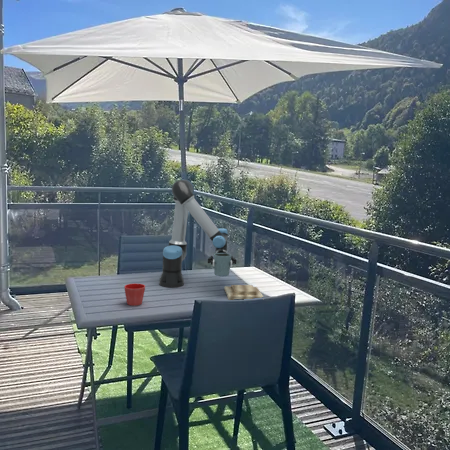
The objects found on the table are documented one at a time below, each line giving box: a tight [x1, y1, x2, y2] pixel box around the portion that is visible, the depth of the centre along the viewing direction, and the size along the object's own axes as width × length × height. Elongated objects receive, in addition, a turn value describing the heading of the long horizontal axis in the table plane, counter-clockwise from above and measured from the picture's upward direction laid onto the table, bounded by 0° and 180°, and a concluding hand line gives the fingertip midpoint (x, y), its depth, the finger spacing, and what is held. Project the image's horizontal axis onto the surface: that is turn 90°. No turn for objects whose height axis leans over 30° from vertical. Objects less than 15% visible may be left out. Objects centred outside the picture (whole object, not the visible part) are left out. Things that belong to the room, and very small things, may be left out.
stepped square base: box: [223, 284, 264, 301], centre depth 265 cm, size 20×20×4 cm
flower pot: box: [124, 283, 146, 307], centre depth 239 cm, size 11×11×10 cm
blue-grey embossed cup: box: [213, 252, 232, 277], centre depth 261 cm, size 10×10×12 cm
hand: (222, 264), depth 256 cm, fingers closed on blue-grey embossed cup, 9 cm apart
